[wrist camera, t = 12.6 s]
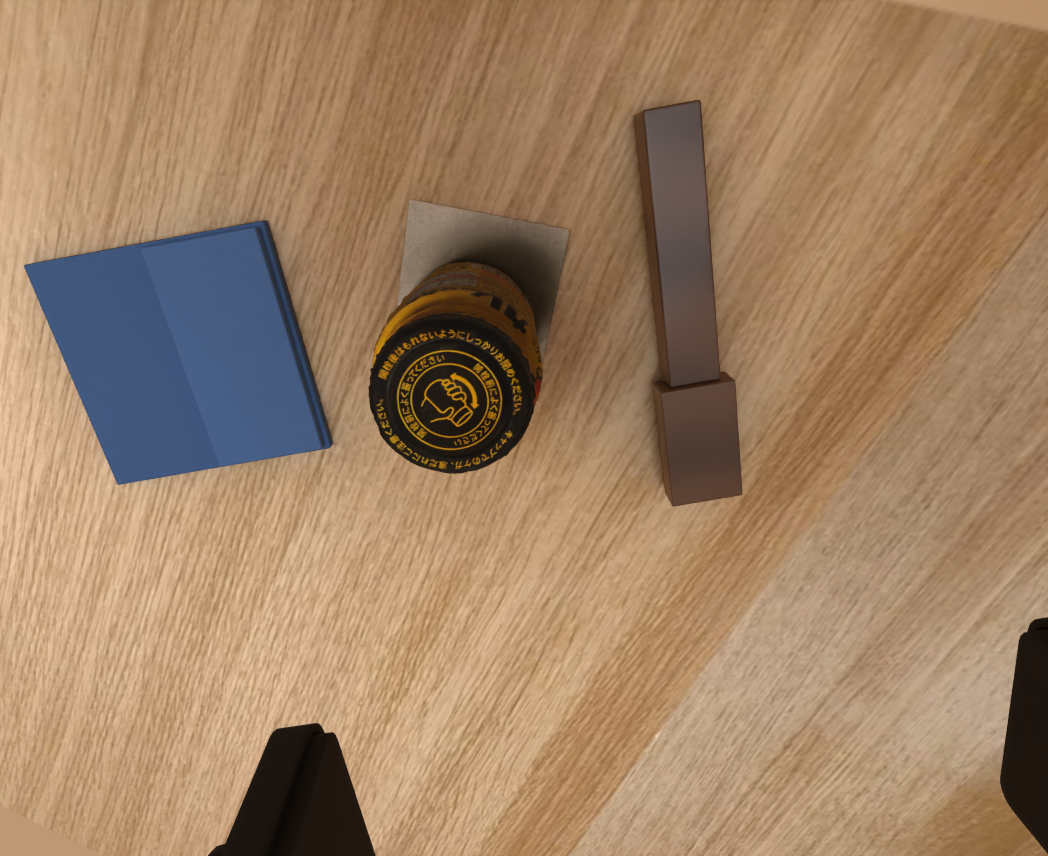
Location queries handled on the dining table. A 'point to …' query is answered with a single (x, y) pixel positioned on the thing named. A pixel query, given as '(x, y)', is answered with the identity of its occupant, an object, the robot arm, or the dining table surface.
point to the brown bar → (686, 310)
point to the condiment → (465, 336)
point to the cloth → (184, 352)
